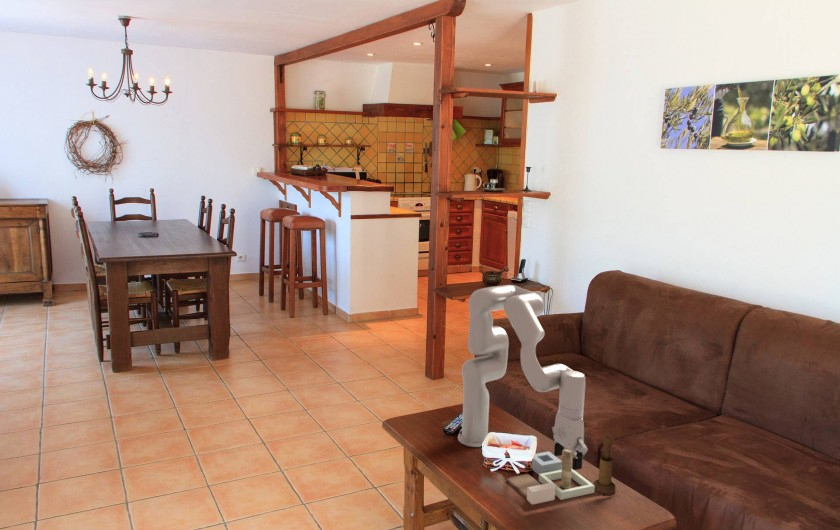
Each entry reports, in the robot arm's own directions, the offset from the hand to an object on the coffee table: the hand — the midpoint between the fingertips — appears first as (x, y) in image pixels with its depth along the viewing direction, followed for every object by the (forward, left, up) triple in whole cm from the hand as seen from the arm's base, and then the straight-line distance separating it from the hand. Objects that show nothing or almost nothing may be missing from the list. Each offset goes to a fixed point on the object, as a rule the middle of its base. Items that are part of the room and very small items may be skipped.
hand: (567, 462), depth 201 cm
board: (-4, -12, -10) cm, 16 cm away
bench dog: (+4, -12, -9) cm, 16 cm away
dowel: (0, 0, -9) cm, 9 cm away
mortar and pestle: (+5, +11, -10) cm, 15 cm away
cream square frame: (0, 0, -9) cm, 9 cm away
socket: (-12, 0, -9) cm, 15 cm away
